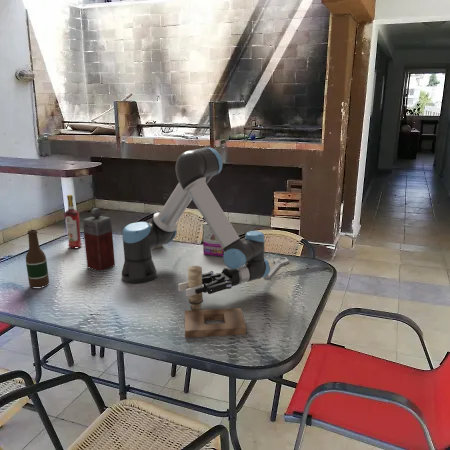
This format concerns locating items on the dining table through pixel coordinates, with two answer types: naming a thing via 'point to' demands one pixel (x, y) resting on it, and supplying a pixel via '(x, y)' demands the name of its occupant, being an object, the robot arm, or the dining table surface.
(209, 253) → the candy bar box
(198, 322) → the walnut board
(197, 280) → the birch peg
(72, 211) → the liquor
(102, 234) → the red square decanter
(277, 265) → the adjustable wrench
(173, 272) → the dining table surface
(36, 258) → the beer bottle
